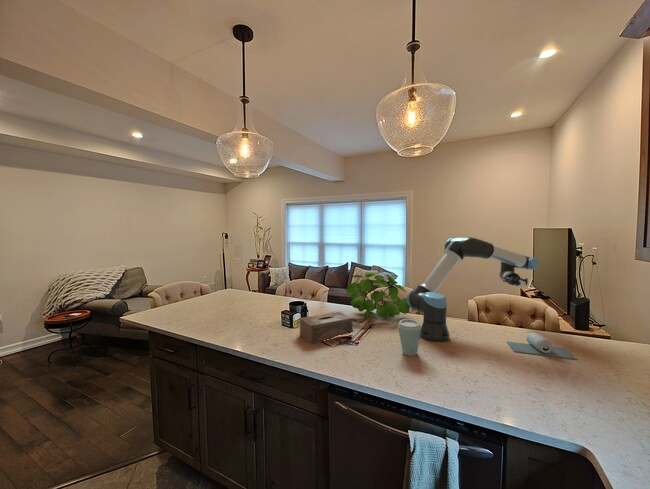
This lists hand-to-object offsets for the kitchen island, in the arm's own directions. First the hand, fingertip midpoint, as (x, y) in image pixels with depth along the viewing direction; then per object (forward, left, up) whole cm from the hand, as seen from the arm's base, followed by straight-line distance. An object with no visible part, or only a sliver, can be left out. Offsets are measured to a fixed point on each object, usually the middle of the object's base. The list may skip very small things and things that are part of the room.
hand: (524, 284), depth 146 cm
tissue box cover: (-102, -34, -29) cm, 112 cm away
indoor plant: (-82, +14, -29) cm, 88 cm away
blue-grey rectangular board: (+2, -18, -29) cm, 34 cm away
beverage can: (+1, -11, -25) cm, 28 cm away
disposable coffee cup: (-57, -42, -29) cm, 77 cm away
